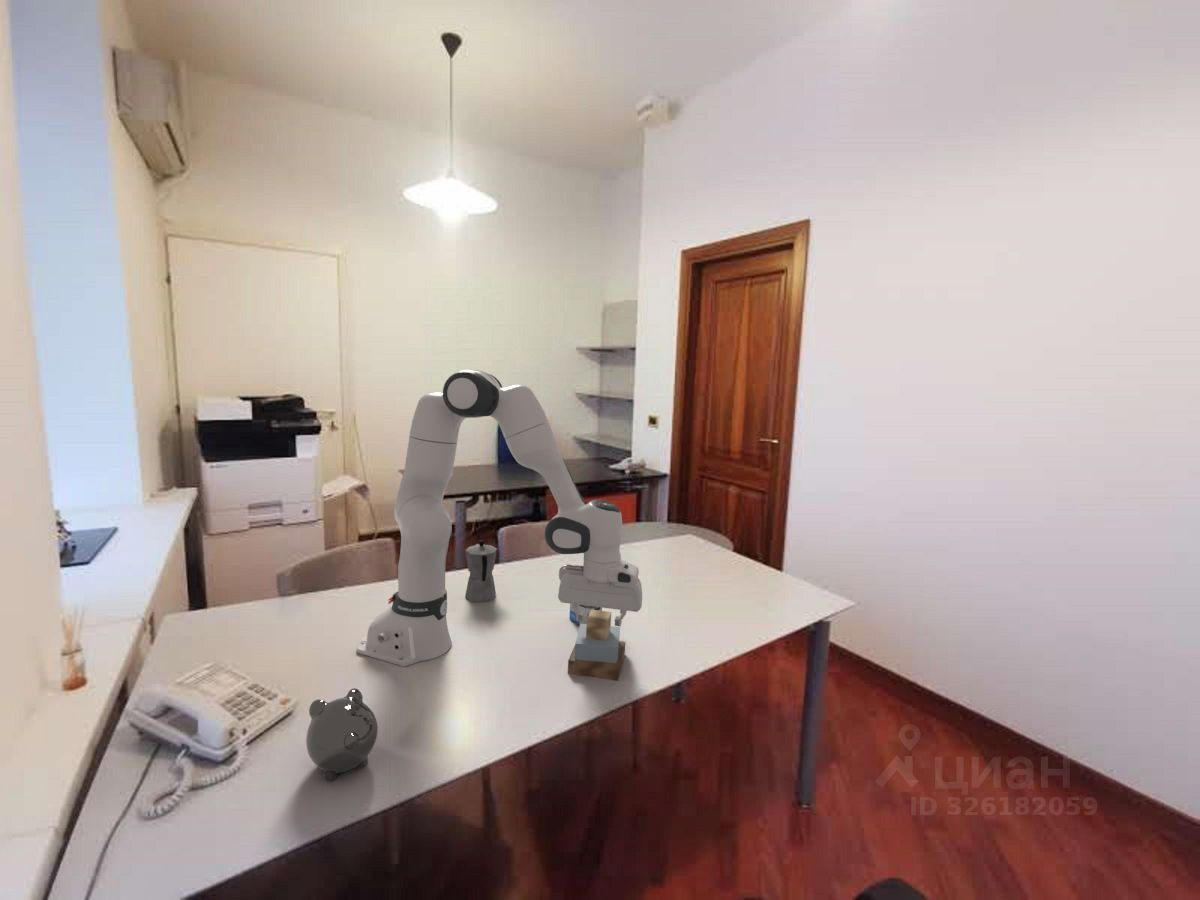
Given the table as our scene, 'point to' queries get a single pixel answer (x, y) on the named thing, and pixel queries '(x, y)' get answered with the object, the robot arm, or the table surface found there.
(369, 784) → the table surface
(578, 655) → the tower top
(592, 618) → the oak block
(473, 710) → the table surface
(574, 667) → the tower base
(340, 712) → the piggy bank
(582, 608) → the ink box
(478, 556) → the coffeepot
